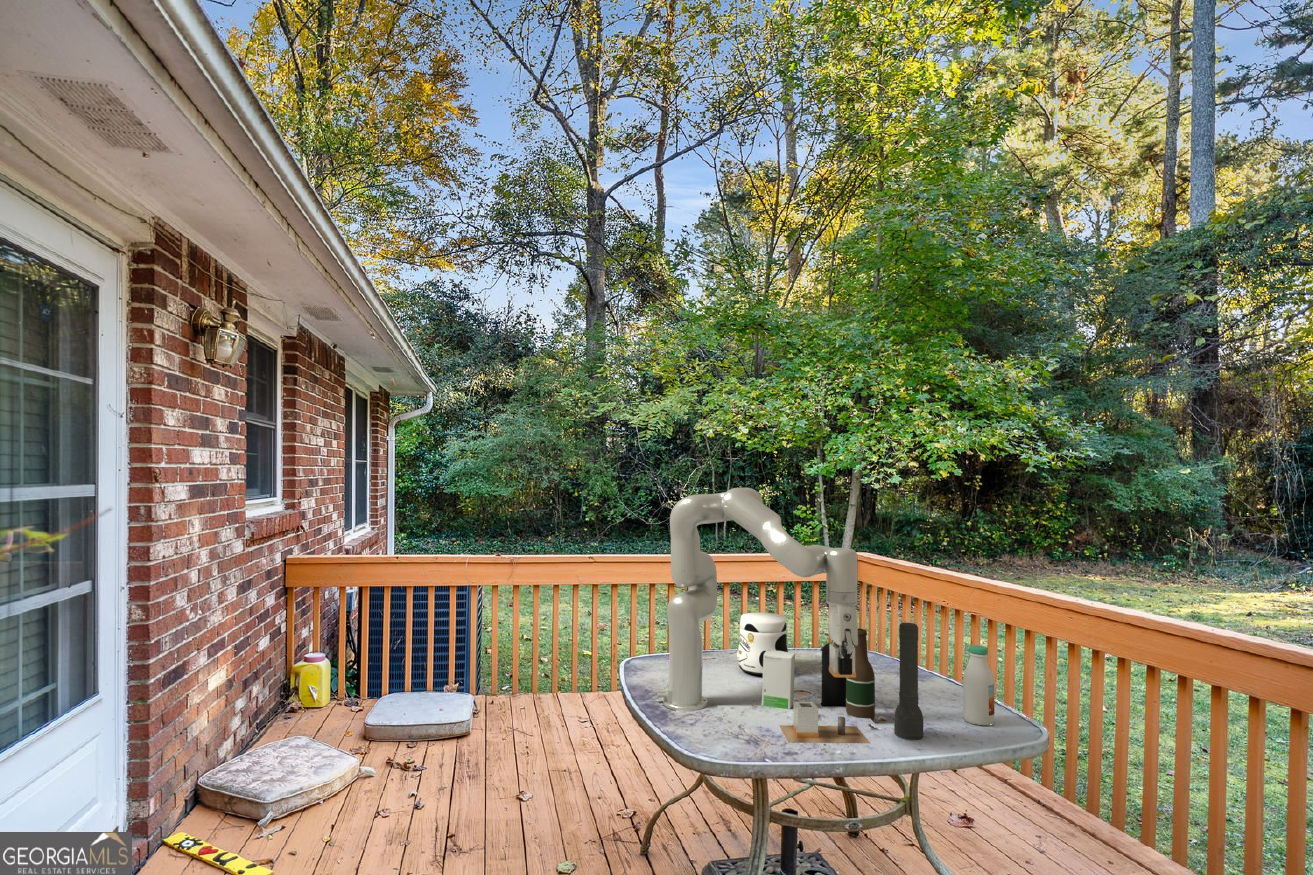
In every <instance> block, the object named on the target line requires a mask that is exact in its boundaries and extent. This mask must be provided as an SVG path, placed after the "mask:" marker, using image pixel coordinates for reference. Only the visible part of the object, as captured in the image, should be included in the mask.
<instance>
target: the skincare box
mask: <svg viewBox="0 0 1313 875" xmlns="http://www.w3.org/2000/svg"><path fill="white" fill-rule="evenodd" d="M795 661H796V653H795V652H791V651H790V652H789V651H788V652H784V651H776V650H769V649H767V651H766V652H765V653H764V657H763V675H762V682H761V683H762V688H761V689H762V690H761V707H770V708H778V709H785V710H786V709H787V710H791V709H792V707H794V698H795V696H794V694H795V670H796V668H795V665H796V662H795Z"/></svg>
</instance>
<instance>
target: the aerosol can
mask: <svg viewBox="0 0 1313 875" xmlns="http://www.w3.org/2000/svg"><path fill="white" fill-rule="evenodd" d="M830 643H832V641H831V642H828V643H826V644H824V645H823V646H822V647H821V648H820V652H821V696H820V697H821V702H820V706H821V707H822V708H823V707H825V708H826V707H827V708H846V677H834V676H833V675H832V674H831V673H830V672H829V666H830Z"/></svg>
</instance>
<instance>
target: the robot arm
mask: <svg viewBox="0 0 1313 875" xmlns="http://www.w3.org/2000/svg"><path fill="white" fill-rule="evenodd" d="M728 521H729V522H730V521H734V522H735V523H736V524H737V525H739V526H741V527H742V528H743V529H744V530H746V531H747V532H749V533H750V534H751V535H752V536H754V537H755V538H756V539H758V540H759V542H761V544H762V546H763V548H764V549H765V550H766V551H767V553H768V554H769V556H771V557H772V558H773V560H775V561H776V562H778V563H779V564H780V565H782V567H784V568H785V569H786V570H788V571H789V572H790V573H793V574H794V575H795V576H797V577H801V578H811V577H814V576H817V575H820V574H826V575H825V576H826V582H825V583H826V591H825V592H826V604H828V605H829V608H828V609H829V610H828V611H829V612H828V636H829V638H830V639H831V642H832V643H836V644H838V645H839V649H840V658H839V674H840V675H852V653H853V647H854V646H857V645H858V616H857V615H858V614H857V609H856V606H858V554H857V552H856V550H854V549H853V548H848V547H830V546H826V545H820V544H811V545H807V546H806V545H803V544H801V543H800V542H799V541H798V540H796V539H794V538H793V537H792V536H791V535H790V534H789V533H788V532H787V531H786V530H785V529H784V528H783V524H782V518H781V516H780V515H779V514H778V513H776V512H775V511H774V510H772V509H771V508H770V507H768V506H767V505H766V504H764V501H763V497H762V496H761V494H760V493H759V491H757V490H755V489H754V488H751V487H733V488H730V489H728V490H726V492H725V491H724V492H719V493H705V494H704V493H701V494H699V493H698V494H691V495H688V496H685V497H683V498H682V499H680V500H679V501H677V502H676V503H675V505H674V506H673V507H672V509H671V512H670V515H669V529H670V530H669V531H670V532H669V533H670V574H671V580H672V582H673V583H674V584H675V585H676V586H678V587H679V588H680V587H681V588H688V590H685V591H683V592H680V593H677V594H675V595H674V596H672V597H671V598H670V600H669V601H668V603H667V608H666V617H667V624H668V634H669V636H668V637H669V638H668V639H669V640H668V641H669V645H668V647H669V648H668V649H669V654H668V655H669V656H668V659H669V662H668V684H667V685H666V686H667V687H663V688H652V696H653V697H656V698H659V699H662V698H663V702H662V704H663V706H665V707H666V708H668V709H670V710H672V711H673V710H674V711H680V712H681V711H683V712H684V711H685V712H692V711H700V710H702V709H704V708H706V707H707V706H708V699H707V698H706V697H704V696H703V656H704V655H703V647H704V645H703V634H702V631H701V628H700V623H702V622H705V621H707V620H709V619H711V618H712V617H713V616H714V614H715V613H716V610H717V607H718V578H717V577H718V575H717V572H718V571H717V566H716V562H715V561H714V559H713V557H712V556H711V555H710V554H709V553H707V552H704V551H701V537H700V534H699V530H698V526H699V525H704V524H706V525H707V524H715V523H716V524H717V523H722V522H728ZM842 643H846V645H843V644H842ZM843 648H846V649H844V651H843Z"/></svg>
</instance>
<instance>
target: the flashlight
mask: <svg viewBox="0 0 1313 875" xmlns="http://www.w3.org/2000/svg"><path fill="white" fill-rule="evenodd" d="M898 627H899V628H898V632H899V633H898V636H899V637H898V639H899V691H898V701H899V702H898V705H897V706H896V708H895V710H894V718H893V719H894V721H893V723H894V724H893V726H894V728H893V734H894V735H895V736H897V737H898V738H901V739H903V740H907V741H920V740H923V739H924V715H923V712H922V710H921V708H920V706H919V626H918V624H916V623H913V622H900V624H899V626H898Z"/></svg>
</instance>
